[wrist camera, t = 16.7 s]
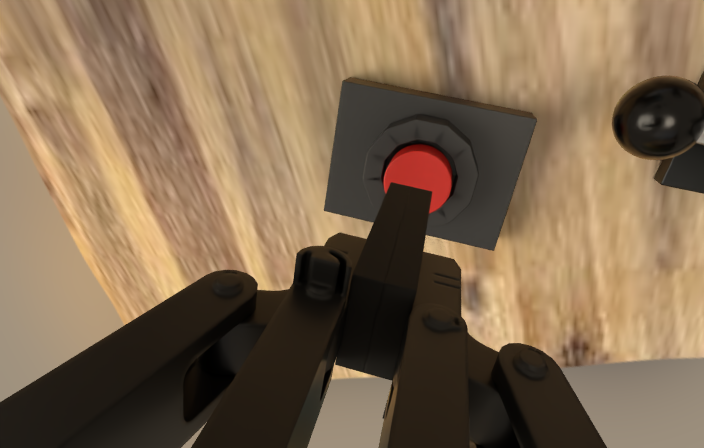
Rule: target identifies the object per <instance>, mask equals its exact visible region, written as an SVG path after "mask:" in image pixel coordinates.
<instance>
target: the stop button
mask: <svg viewBox="0 0 704 448" xmlns="http://www.w3.org/2000/svg"><path fill="white" fill-rule="evenodd" d="M391 182H393V183H397V184H402V185H406V186H411V187H415V188H420V189H424V190H428V191H432V198H431V204H430V210H429V213H432V212H434V211H436V210H437V209H439V208H440V207H441V206H442V205H443V204H444V203H445V202H446V200H447V199H448V197H449V195H450V192H451V187H452V169H451V166H450V163H449V161H448V159H447V158H446V157H445V155H444V154H443V153H442V152H440V151H439V150H438V149H436V148H434V147H432V146H429V145H423V144H415V145H410V146H407V147H405V148H403V149H401V150H400V151H399V152H397V153H396V154H395V156H394V157H393V158H392V160H391V161H390V163H389V165H388V167H387V169H386V172H385V175H384V190H385V193H387V190H388V188H389V185H390V183H391Z"/></svg>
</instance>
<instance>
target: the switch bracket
mask: <svg viewBox="0 0 704 448" xmlns="http://www.w3.org/2000/svg"><path fill="white" fill-rule="evenodd" d="M697 86H699V87H700V88H701V89H702V90H703V91H704V72H703V74H702V77H701V79H700V81H699V83H698V85H697ZM654 179H655V180H656V181H657V182H658V183H660V184H661V185H665V186H670V187H675V188H679V189H684V190H689V191H694V192H699V193H703V194H704V145H703V144H699V143H697V144H696V145H694V146H693V147H692V148H691V149H689V150H688V151H686V152H684V153H682V154H680V155H678V156H675V157H673V158H669V159H664V160H662V163H661V165H660V167H659V169H658V171H657V173H656V175H655V178H654Z"/></svg>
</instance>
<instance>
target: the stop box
mask: <svg viewBox="0 0 704 448" xmlns="http://www.w3.org/2000/svg"><path fill="white" fill-rule="evenodd" d="M536 122H537V118H536V117H535V116H534V115H533V114H532V113H530V112H525V111H520V110H515V109H510V108H505V107H499V106H494V105H489V104H484V103H479V102H474V101H469V100H464V99H459V98H453V97H448V96H443V95H438V94H433V93H428V92H423V91H418V90H413V89H407V88H402V87H397V86H392V85H387V84H382V83H377V82H372V81H367V80H361V79H356V78H351V77H350V78H348V79H346V80H344V81H342V88H341V95H340V102H339V109H338V116H337V123H336V130H335V137H334V144H333V151H332V158H331V165H330V172H329V179H328V186H327V193H326V200H325V207H324V211H327V212H331V213H336V214H340V215H344V216H348V217H353V218H357V219H361V220H365V221H370V222H374V221H375V219H376V217H377V214H378V212H379V209H380V207H381V205H382V202H383V200H384V197H385V195H386V193H385V190H384V175H385V172H386V169H387V167H388V165H389V163H390V161H391V160H392V158H393V157H394V156H395V154H396V153H397V152H399V151H400V150H401V149H403V148H405V147H407V146H410V145H415V144H423V145H429V146H432V147H434V148H436V149H438V150H439V151H440V152H442V153H443V154H444V155H445V157H446V158H447V159H448V161H449V163H450V166H451V169H452V187H451V192H450V195H449V197H448V199H447V200H446V202H445V203H444V204H443V205H442V206H441V207H440V208H439V209H437V210H436V211H434V212H432V213H429V217H428V223H427V230H426V235H429V236H433V237H437V238H442V239H446V240H450V241H454V242H459V243H463V244H467V245H471V246H475V247H480V248H484V249H488V250H492V251H494V249H495V246H496V243H497V240H498V237H499V234H500V231H501V228H502V225H503V222H504V219H505V216H506V213H507V210H508V207H509V204H510V201H511V198H512V195H513V192H514V189H515V186H516V182H517V179H518V176H519V173H520V170H521V167H522V164H523V161H524V158H525V155H526V152H527V149H528V146H529V143H530V140H531V137H532V134H533V131H534V128H535V125H536Z"/></svg>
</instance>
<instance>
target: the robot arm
mask: <svg viewBox="0 0 704 448" xmlns="http://www.w3.org/2000/svg"><path fill="white" fill-rule="evenodd" d="M431 198H432V191H428V190H424V189H420V188H415V187H411V186H406V185H402V184H397V183H393V182H391V183H390V185H389V188H388V190H387V193H386V195H385V197H384V200H383V202H382V205H381V207H380V209H379V212H378V214H377V217H376V219H375V221H374V224H373V226H372V229H371V231H370V233H369V236H368V238H367V239H364V238H360V237H356V236H352V235H347V234H343V233H338V234H336V235H334V236H332V237H330V238H329V239H328V240H327V242H326V244H325V245H324V246H310V247H307V248H304V249H302V250H300V251H299V252H298V253H297V256H296V264H295V272H294V280H293V284H292V286H291V287H290V289H288V290H282V291H265V290H257V286H258V284H257V282H256V281H255V279H254V278H253V277H252V276H250V275H248V274H247V273H244V272H240V271H237V270H221V271H215V272H213V273H210V274H208V275H206V276H204V277H202V278H201V279H199V280H198V281H196V282H194V283H193V284H191V285H189V286H188V287H186V288H185V289H183V290H181V291H180V292H178V293H176V294H175V295H173V296H172V297H170V298H168V299H167V300H165V301H164V302H162V303H160V304H159V305H157V306H155V307H154V308H152V309H151V310H149V311H147V312H146V313H144V314H142V315H141V316H139V317H138V318H136V319H134V320H133V321H131V322H130V323H128V324H126V325H125V326H123V327H121V328H120V329H118V330H117V331H115V332H114V333H112V334H110V335H109V336H107V337H105V338H104V339H102V340H100V341H99V342H97V343H96V344H94V345H93V346H91V347H89V348H88V349H86V350H84V351H83V352H81V353H79V354H78V355H76V356H75V357H73V358H71V359H70V360H68V361H67V362H65V363H63V364H62V365H60V366H58V367H57V368H55V369H54V370H52V371H50V372H49V373H47V374H45V375H44V376H42V377H41V378H39V379H37V380H36V381H34V382H32V383H31V384H29V385H28V386H26V387H25V388H23V389H21V390H19V391H18V392H16V393H15V394H13V395H12V396H10V397H8V398H6V399H5V400H3V401H2V402H0V448H181V447H182V446H183V445H184V444H185V443H186V442H187V441H188V440H189V439H190V438H191V437H192V436H193V435H194V434H195V433H196V432H197V431H198V430H199V429H200V428H201V427H202V426H203V425H204V424H205V423H206V422H207V423H206V425H205V426H204V428H203V430H202V431H201V433H200V434H199V436H198V437H197V439H196V441H195V442H194V444H193V445H192V447H191V448H307V446H308V444H309V441H310V438H311V435H312V432H313V429H314V426H315V423H316V421H317V418H318V415H319V412H320V409H321V407H322V404H323V401H324V398H325V395H326V392H327V389H328V387H329V383H330V381H331V377H332V371H333V366H334V362H335V360H336V363H335V365H339V366H342V367H346V368H349V369H353V370H356V371H360V372H364V373H367V374H371V375H374V376H378V377H381V378H385V379H389V380H392V385H391V389H390V392H389V396H388V400H387V403H386V407H385V411H384V415H383V418H384V422H383V427H382V432H381V438H380V443H379V448H607V447H606V445H605V443H604V442H603V440H602V438H601V437H600V435H599V433H598V431H597V430H596V428H595V426H594V425H593V423H592V421H591V420H590V418H589V416H588V415H587V413H586V411H585V409H584V408H583V406H582V404H581V403H580V401H579V399H578V397H577V396H576V394H575V392H574V391H573V389H572V388H571V386H570V384H569V382H568V381H567V379H566V377H565V375H564V374H563V372H562V370H561V369H560V367H559V366H558V365H557V364H556V362H555V361H554V360H553V359H552V358H551V357H549V356H548V355H547V354H545V353H544V352H543V351H541V350H539V349H536V348H534V347H532V346H529V345H525V344H521V343H509V344H507V345H505V346H503V347H502V348H501V350H500V351H499V352H497V351H495V350H493V349H491V348H489V347H487V346H485V345H483V344H481V343H480V342H478V341H477V340H475V339H474V338H473V337H472V336H470V335H469V333H468V330H467V325H466V322H465V320H464V319H463V318H462V317H461V269H460V267H459V266H458V264H457V263H456V261H455V260H454V259H451V258H447V257H443V256H439V255H435V254H430V253H426V252H423V249H424V242H425V236H426V230H427V223H428V217H429V210H430V204H431ZM336 357H337V358H336Z"/></svg>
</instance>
